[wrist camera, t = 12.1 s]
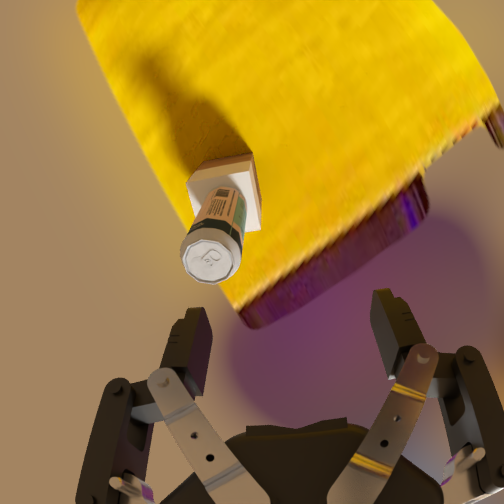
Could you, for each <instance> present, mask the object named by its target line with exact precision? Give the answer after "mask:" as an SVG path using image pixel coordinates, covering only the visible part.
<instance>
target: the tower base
mask: <svg viewBox="0 0 504 504" xmlns="http://www.w3.org/2000/svg"><path fill="white" fill-rule="evenodd" d="M250 160H251V163H252V168H253V173H254V178H255V183H256V189H257V194H258V199H259V204H260V209H261V200H262V199H261V194H260V188H259V183H258V178H257V173H256V167H255V162H254V157H253V152H251V153H246V154H240V155H235V156H229V157H224V158H219V159H214V160H209V161H204V162H203V163H202V164H201V165H200V166H199V167H198V169H197V170H196V171H198V170H203V169H208V168H213V167H218V166H223V165H228V164H233V163H239V162H244V161H250Z"/></svg>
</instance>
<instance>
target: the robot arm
mask: <svg viewBox="0 0 504 504" xmlns="http://www.w3.org/2000/svg"><path fill="white" fill-rule="evenodd" d="M370 322H371V327H372V330H373V332H374V336H375V339H376V342H377V344H378V348H379V351H380V354H381V357H382V361H383V364H384V367H385V370H386V374H387V377H388V379H394V378H396V382H395V384H394V386H393V387H392V389H391V391H390V393H389V395H388V397H387V399H386V401H385V403H384V405H383V407H382V409H381V410H380V413H379V414H378V416H377V418H376V420H375V421H374V423H373V425H372V426H371V428H370V430H369V429H367V428H365V427H363V426H359V425H356V424H350V423H347V418H346V417H345V418H339V419H331V420H324V421H320V422H317V423H314V424H311V425H308V426H305V427H302V428H298V429H293V428H286V427H279V426H273V425H261V426H246V432H244V433H241V434H238V435H236V436H233V437H232V438H230V439H228V440H227V441H226V442H223V440H222V439H221V438H220V436H219V435H218V434H217V432H216V431H215V430H214V429H213V427H212V426H211V424H210V423H209V421H208V420H207V419H206V417H205V416H204V414H203V413H202V411H201V410H200V409H199V407H198V406H197V405H196V403H195V402H194V401H195V396H203V392H204V387H205V381H206V374H207V369H208V363H209V358H210V352H211V346H212V340H213V335H212V329H211V326H210V323H209V320H208V317H207V314H206V311H205V309H204V308H203V307H196V308H188V309H187V311H186V314H185V318H184V319H178V320H177V322H176V323H175V324H174V325H173V326H172V329H171V332H170V337H169V338H168V344H167V345H166V348H165V351H164V354H163V358H162V361H161V365H160V367H159V369H157V370H155V371H154V372H152V373H151V374H150V376H149V377H148V379H147V380H144V381H140V382H136V383H131V384H130V383H129V381H128V380H126V379H125V378H115V379H113V380H112V381H110V382H109V383H108V384H107V385H106V387H105V389H104V392H103V395H102V399H101V401H100V405H99V408H98V411H97V414H96V418H95V421H94V425H93V428H92V432H91V435H90V439H89V442H88V446H87V450H86V454H85V458H84V462H83V466H82V470H81V474H80V479H79V483H78V488H77V493H76V498H75V502H76V504H155V502H154V499H153V491H152V489H151V487H150V486H149V485H148V484H147V483H145V477H146V470H147V463H148V456H149V450H150V445H151V439H152V433H153V427H154V422H159V421H163V420H164V422H165V424H166V426H167V427H168V429H169V431H170V433H171V434H172V436H173V438H174V439H175V441H176V443H177V445H178V446H179V448H180V449H181V451H182V453H183V454H184V456H185V457H186V459H187V461H188V462H189V464H190V465H191V467H192V468H193V470H194V472H193V473H192V474H191V475H190V476H189V477H188V478H187V479H186V480H185V481H184V482H183V483H181V485H179V486H178V487H177V488H176V489H175V490H174V491H173V492H171V493H170V494H169V495H168V496H167V497H166V498H165V499H164V500H162V501H161V503H160V504H473V503H475V502H477V501H480V500H482V499H484V498H486V497H488V496H490V495H492V494H494V493H496V492H498V491H500V490H502V489H504V411H503V408H502V405H501V402H500V399H499V397H498V394H497V391H496V389H495V386H494V383H493V381H492V378H491V376H490V374H489V371H488V369H487V367H486V364H485V362H484V360H483V357H482V355H481V353H480V352H479V351H478V350H477V349H476V348H474V347H472V346H463V347H461V348H459V349H458V350H457V352H456V354H452V353H440V352H437V350H436V349H435V348H434V347H433V346H432V345H429V344H427V343H426V341H425V339H424V337H423V335H422V332H421V330H420V328H419V326H418V324H417V322H416V320H415V318H414V316H413V314H412V312H411V310H410V308H409V306H408V304H407V303H406V302H405V301H404V300H403V299H402V298H401V297H397V298H394V296H393V294H392V292H391V290H390V289H389V288H385V289H378V290H374V291H373V296H372V304H371V310H370ZM426 397H432V398H438V401H439V405H440V408H441V412H442V416H443V420H444V424H445V428H446V432H447V437H448V441H449V446H450V451H451V456H452V458H450V459H449V460H448V462H447V463H446V465H445V468H444V478H443V481H442V483H441V485H439V484H438V483H437V481H436V480H434V479H433V478H432V477H430V476H429V475H428V474H426V473H425V472H424V471H422V470H421V469H419V468H418V467H417V466H416V465H414V464H413V463H412V462H410V461H409V460H407V459H406V458H405V457H404V456H403V455H401V453H402V451H403V450H404V448H405V446H406V444H407V441H408V439H409V437H410V435H411V433H412V431H413V429H414V427H415V424H416V422H417V420H418V417H419V415H420V413H421V410H422V408H423V405H424V403H425V400H426Z"/></svg>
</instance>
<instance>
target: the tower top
mask: <svg viewBox="0 0 504 504" xmlns="http://www.w3.org/2000/svg"><path fill="white" fill-rule="evenodd" d="M186 186H187V189H188V193H189V197H190V200H191V204H192V207H193V211H194V214H195V218H196V216H197V214H198V212H199V210H200V209H201V207H202V205H203V203H204V200H205V198H206V196H207V194H208V193H209V192H210V191H211V190H213V189H215V188H217V187H221V186H228V187H233V188H235V189H237V190H238V191H239V192H241V193H242V195H243V196H244V197H245V199H246V202H247V216H246V224H245V232H250V231H256V230H261V209H260V204H259V199H258V194H257V189H256V183H255V178H254V173H253V168H252V163H251V160H250V161H244V162H239V163H233V164H228V165H223V166H218V167H213V168H208V169H203V170H198V171H195V172H194V174H193V175H192V176H191V177H190V178H189V180H188V181H187V182H186Z"/></svg>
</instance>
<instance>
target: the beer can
mask: <svg viewBox="0 0 504 504" xmlns="http://www.w3.org/2000/svg"><path fill="white" fill-rule="evenodd" d="M246 216H247V202H246V199H245V197H244V196H243V195H242V193H241V192H239V191H238V190H237V189H235V188H233V187H228V186H221V187H217V188H215V189H213V190H211V191H210V192H209V193H208V194H207V196H206V198H205V200H204V203H203V205H202V207H201V209H200V210H199V212H198V214H197V216H196V218H195V220H194V222H193V224H192V226H191V228H190V230H189V232H188V234H187V236H186V237H185V239H184V240H183V242H182V245H181V248H180V257H181V260H182V263H183V265H184V267H185V269H186V272H187V273H188V274H189V275H190V276H191V277H193V278H194V279H195V280H197V281H198V282H201V283H207V284H217V283H219V282H222V281H224V280H226V279H228V278H229V277H231V276H232V275H233V274H234V273H235V272H236V271H237V269H238V268H239V266H240V262H241V256H242V248H243V240H244V232H245V224H246Z"/></svg>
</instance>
